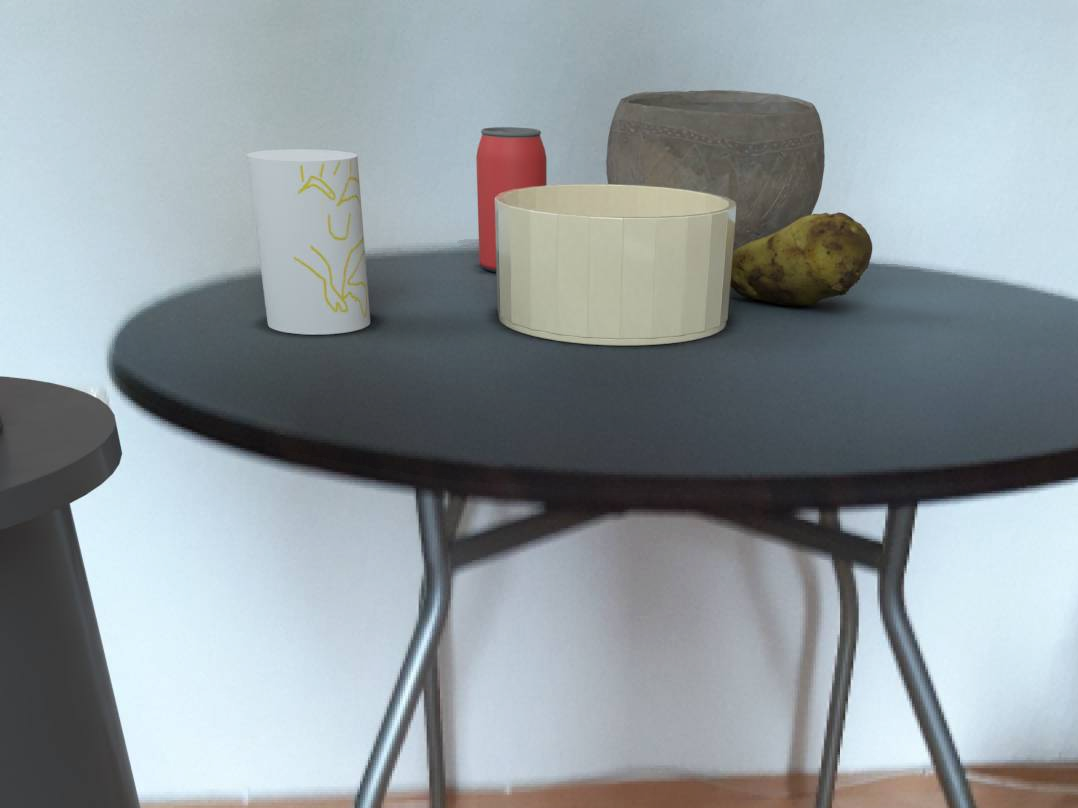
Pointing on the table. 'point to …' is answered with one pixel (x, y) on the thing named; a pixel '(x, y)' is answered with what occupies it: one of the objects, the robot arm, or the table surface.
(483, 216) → the beer can
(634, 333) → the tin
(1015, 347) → the table surface
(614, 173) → the bowl
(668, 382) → the table surface
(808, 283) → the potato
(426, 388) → the table surface
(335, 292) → the cup
